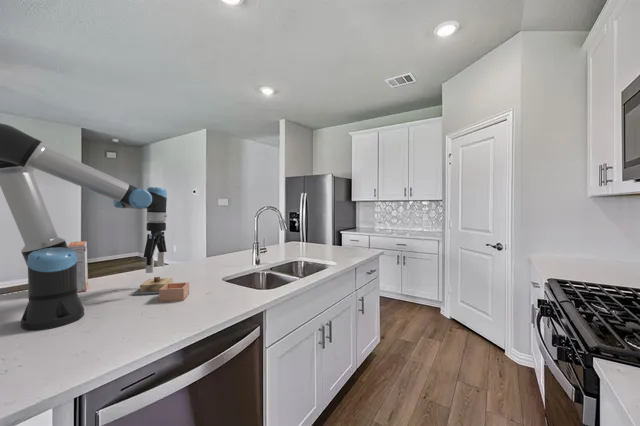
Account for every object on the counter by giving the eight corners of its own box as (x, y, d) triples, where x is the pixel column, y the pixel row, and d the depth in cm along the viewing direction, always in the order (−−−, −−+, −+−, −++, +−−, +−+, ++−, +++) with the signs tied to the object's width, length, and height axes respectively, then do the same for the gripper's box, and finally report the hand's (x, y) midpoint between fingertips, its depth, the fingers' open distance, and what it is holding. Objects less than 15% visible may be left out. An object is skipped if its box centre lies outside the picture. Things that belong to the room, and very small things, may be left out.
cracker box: (71, 286, 131) (70, 241, 130) (88, 284, 134) (87, 240, 134) (67, 294, 119) (66, 245, 119) (86, 291, 123) (85, 244, 122)
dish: (159, 302, 110) (158, 289, 110) (166, 294, 119) (166, 283, 119) (183, 300, 112) (183, 288, 112) (189, 293, 121) (189, 282, 121)
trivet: (132, 295, 118) (132, 293, 118) (146, 286, 132) (146, 284, 132) (169, 293, 121) (169, 292, 121) (178, 284, 135) (178, 283, 134)
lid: (140, 292, 120) (140, 281, 120) (149, 285, 130) (149, 275, 130) (165, 290, 122) (165, 279, 122) (172, 284, 132) (172, 274, 132)
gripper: (155, 223, 114) (154, 275, 114) (174, 220, 138) (173, 263, 138) (134, 223, 112) (133, 275, 113) (157, 220, 137) (156, 263, 137)
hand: (155, 269), depth 126 cm, fingers open, 13 cm apart
